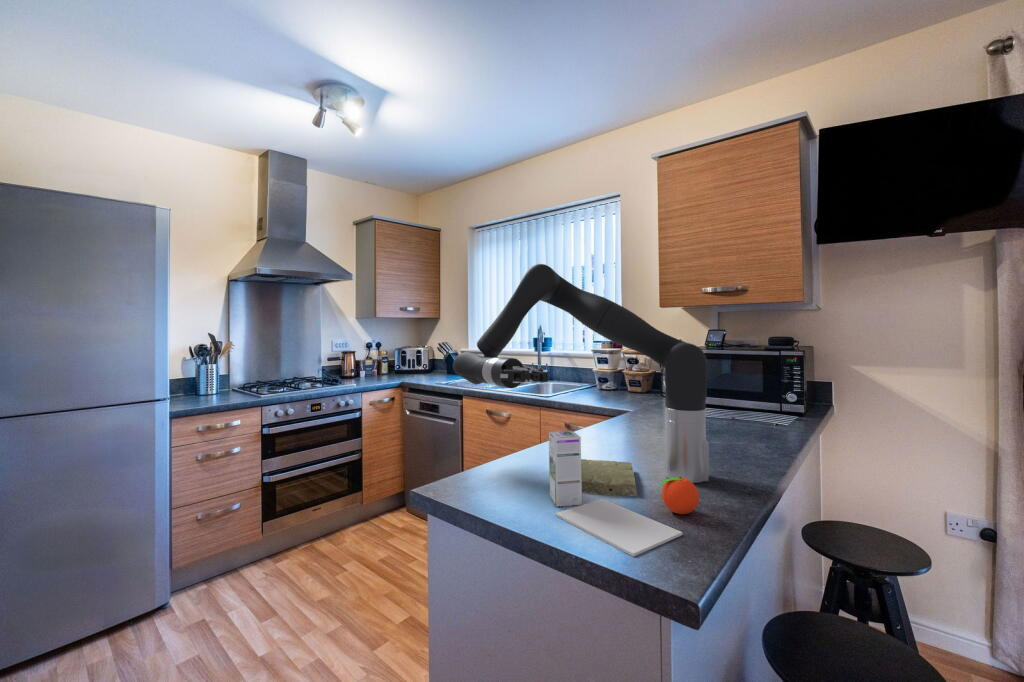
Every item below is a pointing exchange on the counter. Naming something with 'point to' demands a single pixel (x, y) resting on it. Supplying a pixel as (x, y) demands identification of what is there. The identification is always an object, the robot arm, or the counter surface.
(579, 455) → the syrup box
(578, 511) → the white rectangular slab
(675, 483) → the clementine
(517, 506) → the counter surface
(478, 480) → the counter surface
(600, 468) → the decorative tile
